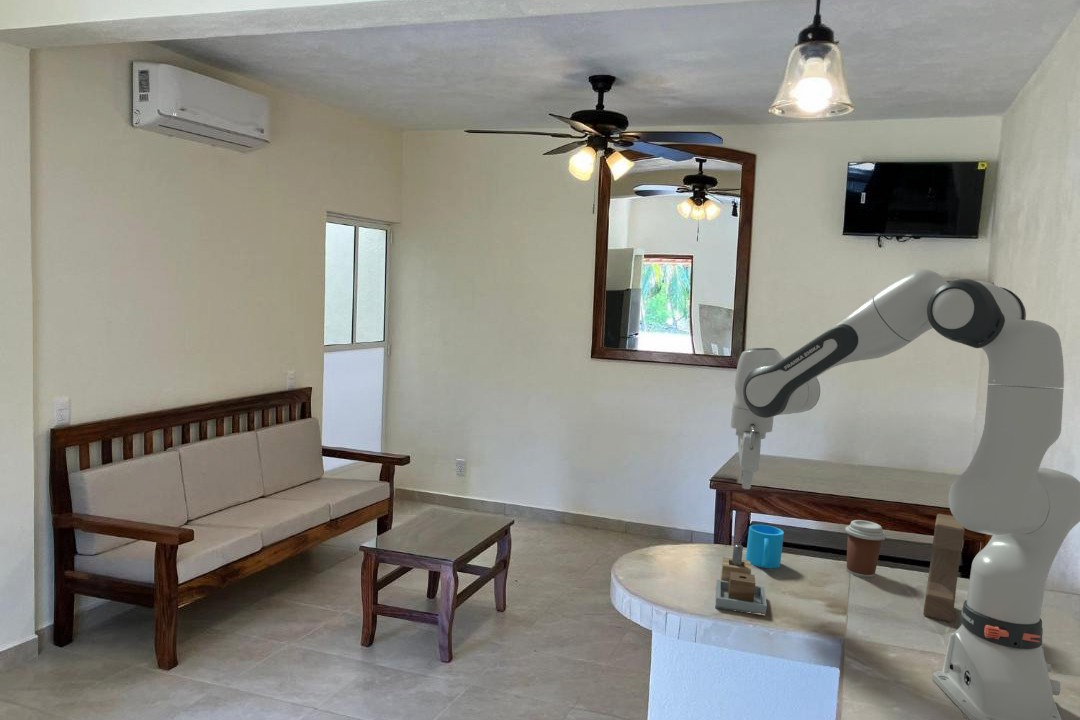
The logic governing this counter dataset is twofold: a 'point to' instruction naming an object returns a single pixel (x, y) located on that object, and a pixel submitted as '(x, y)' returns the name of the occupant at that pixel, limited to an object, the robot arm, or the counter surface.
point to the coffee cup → (863, 547)
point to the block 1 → (734, 568)
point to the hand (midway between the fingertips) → (745, 483)
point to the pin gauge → (737, 555)
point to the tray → (739, 605)
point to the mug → (764, 546)
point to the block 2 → (741, 586)
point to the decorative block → (944, 568)
